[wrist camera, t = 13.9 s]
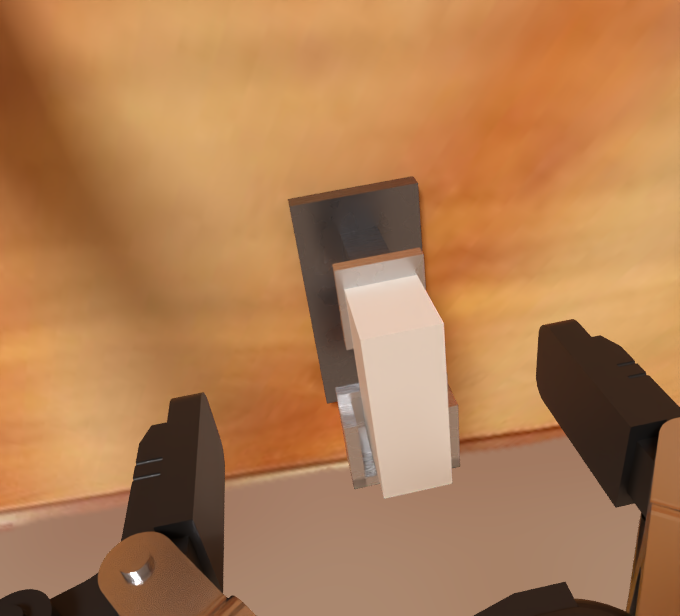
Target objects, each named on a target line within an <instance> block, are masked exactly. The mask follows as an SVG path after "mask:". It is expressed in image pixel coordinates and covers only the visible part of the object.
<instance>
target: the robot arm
mask: <svg viewBox="0 0 680 616" xmlns="http://www.w3.org/2000/svg"><path fill="white" fill-rule="evenodd" d="M536 381H537V387H538V390H539V393H540V396H541V398H542V400H543V401H544V403H545V404H546V406H547V407H548V409H549V410H550V412H551V413H552V415H553V416H554V418H555V419H556V421H557V422H558V424H559V425H560V426H561V428H562V429H563V431H564V432H565V434H566V435H567V437H568V438H569V440H570V441H571V443H572V444H573V446H574V447H575V448H576V450H577V451H578V453H579V454H580V456H581V457H582V459H583V460H584V462H585V463H586V464H587V466H588V468H589V469H590V471H591V472H592V473H593V475H594V476H595V478H596V479H597V481H598V482H599V484H600V485H601V487H602V488H603V490H604V491H605V493H606V494H607V496H608V497H609V498H610V500H611V501H612V503H613V504H614V506H615V507H620V506H625V505H629V504H633V503H635V504H636V505H637V507H638V508H639V510H640V511H641V516H640V520H639V527H638V534H637V541H636V547H635V555H634V561H633V569H632V576H631V583H630V589H629V596H628V601H627V607H626V612H625V611H623V610H621V609H618V608H616V607H613V606H610V605H607V604H604V603H600V602H596V601H590V600H584V599H574V598H573V596H572V594H571V592H570V590H569V588H568V586H567V584H566V582H562V583H558V584H553V585H549V586H545V587H540V588H536V589H531V590H527V591H523V592H518V593H514V594H512V595H510V596H509V597H507V598H505V599H503V600H501V601H499V602H498V603H496V604H494V605H492V606H490V607H488V608H487V609H485V610H483V611H481V612H479V613H478V614H476V615H474V616H680V407H679V406H678V405H677V404H676V403H675V402H674V401H673V400H672V399H671V398H670V397H669V396H668V395H667V394H666V393H665V392H664V391H663V390H662V389H661V387H660V386H659V385H658V384H657V383H656V382H655V381H654V380H653V379H652V378H651V377H650V376H649V375H648V376H647V375H646V372H645V371H644V370H643V369H642V368H641V367H640V366H639V365H638V364H635V361H634V360H633V358H632V357H631V356H630V355H629V354H628V353H627V352H626V351H625V350H624V349H623V348H622V347H621V346H619V345H617V344H615V343H614V342H612V341H610V340H608V339H606V338H604V337H602V336H595V337H591V336H590V335H589V334H588V333H587V332H586V330H585V329H584V328H583V327H582V326H581V325H580V324H579V323H578V322H577V321H576V320H574V319H571V320H566V321H561V322H556V323H551V324H546V325H542V326H541V327H540V330H539V337H538V352H537V368H536ZM224 489H225V461H224V453H223V447H222V443H221V439H220V436H219V433H218V430H217V427H216V424H215V421H214V418H213V415H212V412H211V409H210V406H209V403H208V400H207V397H206V395H205V394H204V393H198V394H193V395H188V396H183V397H178V398H173V399H171V401H170V405H169V413H168V420H167V423H162V424H157V425H152V426H151V427H150V429H149V430H148V432H147V433H146V435H145V436H144V437H143V439H142V440H141V442H140V443H139V448H138V453H137V459H136V466H135V469H134V475H133V482H132V486H131V491H130V496H129V502H128V507H127V513H126V518H125V524H124V529H123V534H122V539H121V542H120V543H118V544H117V545H116V546H115V547H114V548H113V549H112V550H111V551H110V552H109V553H108V554H107V556H106V557H105V558H104V560H103V562H102V564H101V566H100V569H99V572H98V573H97V574H96V575H94V576H93V577H91V578H90V579H88V580H86V581H85V582H83V583H81V584H79V585H77V586H75V587H73V588H71V589H69V590H67V591H65V592H63V593H62V594H59V595H57V596H55V597H54V598H51V599H49V598H48V597H47V595H46V594H44V593H43V592H41V591H38V590H33V589H29V590H28V589H27V590H21V591H17V592H14V593H12V594H9V595H8V596H5V597H4V598H2V599H0V616H256V615H255V614H254V613H253V612H252V611H251V610H250V609H249V608H248V607H247V606H246V605H245V604H244V603H243V602H242V601H241V600H240V599H238V598H237V597H235V596H231V597H230V598H227V597H226V596H224V594H223V558H224Z"/></svg>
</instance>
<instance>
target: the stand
mask: <svg viewBox="0 0 680 616" xmlns="http://www.w3.org/2000/svg"><path fill="white" fill-rule="evenodd" d="M288 201H289V207H290V212H291V217H292V222H293V228H294V233H295V238H296V243H297V249H298V254H299V259H300V264H301V270H302V275H303V280H304V285H305V291H306V296H307V301H308V306H309V312H310V317H311V322H312V327H313V333H314V338H315V343H316V348H317V354H318V359H319V364H320V369H321V375H322V380H323V385H324V390H325V395H326V400H327V403H332V402H338V408H339V413H340V419H341V424H342V430H343V436H344V441H345V447H346V453H347V458H348V462H349V467H350V471H351V476H352V480H353V485H354V489H358V488H363V487H367V486H372V485H377V484H380V482H379V478H378V474H377V471H376V467H375V463H374V460H373V456H372V452H371V449H370V445H369V441H368V436H367V430H366V424H365V418H364V411H363V405H362V399H361V392H360V386H359V380H358V373H357V367H356V361H355V355H354V348H353V342H352V336H351V329H350V323H349V317H348V311H347V304H346V298H345V292H344V289H349V288H354V287H359V286H364V285H369V284H374V283H379V282H384V281H389V280H394V279H399V278H404V277H409V276H414V275H417V276H418V277H419V279H420V281H421V283H422V285H423V287H424V288H425V290H426V285H425V268H424V254H423V252H422V240H421V224H420V208H419V192H418V182H417V181H416V180H415V178H414V177H407V178H402V179H396V180H391V181H385V182H380V183H374V184H369V185H363V186H358V187H352V188H347V189H342V190H336V191H331V192H325V193H320V194H314V195H309V196H303V197H298V198H292V199H288ZM446 374H447V372H446ZM447 392H448V411H449V429H450V448H451V466H452V468H456V467H460V449H459V417H458V404H457V402H456V400H455V398H454V396H453V394H452V392H451V390H450V387H449V385H448V379H447Z"/></svg>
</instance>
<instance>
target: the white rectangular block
mask: <svg viewBox="0 0 680 616" xmlns="http://www.w3.org/2000/svg"><path fill="white" fill-rule="evenodd" d="M344 292H345V298H346V304H347V311H348V317H349V323H350V329H351V336H352V342H353V348H354V355H355V361H356V367H357V373H358V380H359V386H360V392H361V399H362V405H363V411H364V418H365V424H366V430H367V436H368V441H369V445H370V449H371V452H372V456H373V460H374V463H375V467H376V471H377V474H378V478H379V482H380V485H381V489H382V493H383V497H384V499H385V498H390V497H394V496H399V495H404V494H408V493H413V492H417V491H422V490H426V489H431V488H435V487H440V486H444V485H449V484H452V466H451V448H450V429H449V411H448V392H447V374H446V355H445V336H444V323H443V321H442V319H441V317H440V315H439V314H438V312H437V310H436V308H435V306H434V305H433V303H432V301H431V299H430V297H429V296H428V294H427V292H426V290H425V288H424V287H423V285H422V283H421V281H420V279H419V277H418V276H417V275H414V276H409V277H404V278H399V279H394V280H389V281H384V282H379V283H374V284H369V285H364V286H359V287H354V288H349V289H344Z"/></svg>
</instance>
